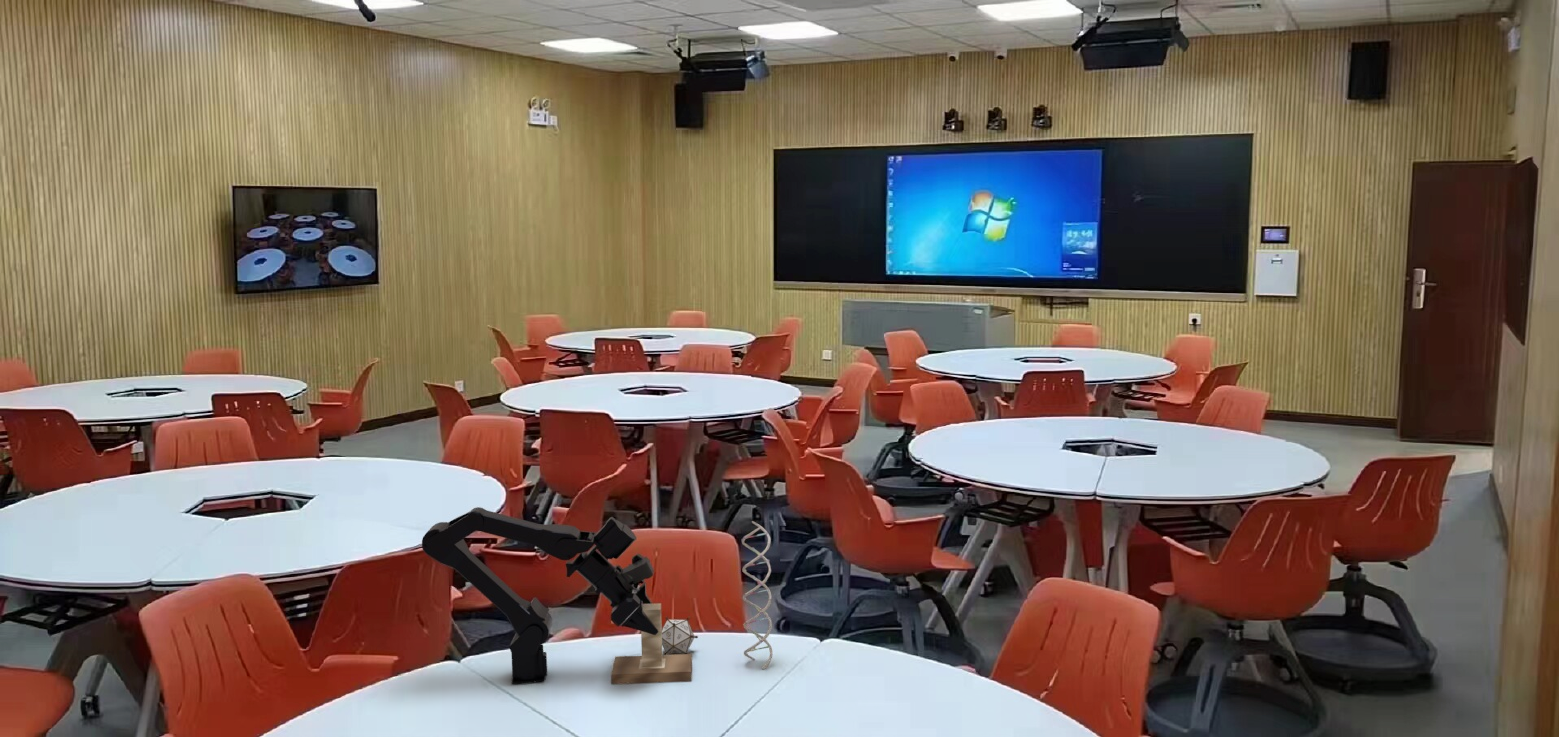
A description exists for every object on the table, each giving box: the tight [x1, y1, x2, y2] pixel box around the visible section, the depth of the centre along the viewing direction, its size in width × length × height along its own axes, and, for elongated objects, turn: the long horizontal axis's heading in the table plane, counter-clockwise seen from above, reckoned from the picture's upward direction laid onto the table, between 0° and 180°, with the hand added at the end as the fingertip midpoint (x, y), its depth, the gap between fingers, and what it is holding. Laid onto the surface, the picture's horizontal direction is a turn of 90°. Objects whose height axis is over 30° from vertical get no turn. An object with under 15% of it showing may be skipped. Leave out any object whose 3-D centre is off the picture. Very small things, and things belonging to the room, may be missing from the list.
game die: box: [662, 615, 699, 655], centre depth 250 cm, size 9×8×10 cm
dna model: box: [741, 520, 774, 670], centre depth 241 cm, size 7×6×30 cm
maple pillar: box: [640, 602, 663, 667], centre depth 238 cm, size 4×4×12 cm
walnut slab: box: [610, 653, 693, 685], centre depth 239 cm, size 16×10×2 cm, turn 93°
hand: (658, 625), depth 238 cm, fingers open, 9 cm apart
